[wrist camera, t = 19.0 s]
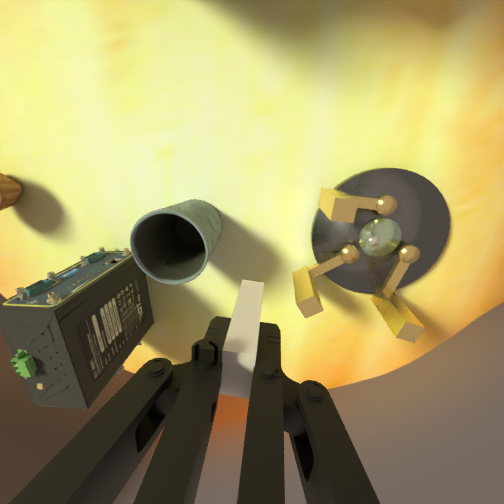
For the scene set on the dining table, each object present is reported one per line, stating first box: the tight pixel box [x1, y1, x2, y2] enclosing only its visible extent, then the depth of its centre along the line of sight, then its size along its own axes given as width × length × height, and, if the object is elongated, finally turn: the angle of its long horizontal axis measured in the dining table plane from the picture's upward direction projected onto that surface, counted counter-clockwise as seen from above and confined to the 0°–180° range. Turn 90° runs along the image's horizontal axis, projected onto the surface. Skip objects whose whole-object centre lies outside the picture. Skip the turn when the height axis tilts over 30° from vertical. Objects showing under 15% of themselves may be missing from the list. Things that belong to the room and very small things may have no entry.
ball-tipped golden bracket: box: [371, 244, 425, 343], centre depth 36 cm, size 11×3×10 cm, turn 163°
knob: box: [292, 244, 360, 318], centre depth 36 cm, size 11×3×10 cm, turn 122°
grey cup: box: [130, 199, 222, 285], centre depth 37 cm, size 10×10×12 cm
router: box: [0, 247, 154, 410], centre depth 39 cm, size 8×18×20 cm, turn 1°
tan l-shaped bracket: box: [318, 188, 397, 223], centre depth 33 cm, size 11×3×10 cm, turn 84°
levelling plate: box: [311, 168, 450, 294], centre depth 39 cm, size 20×20×2 cm
